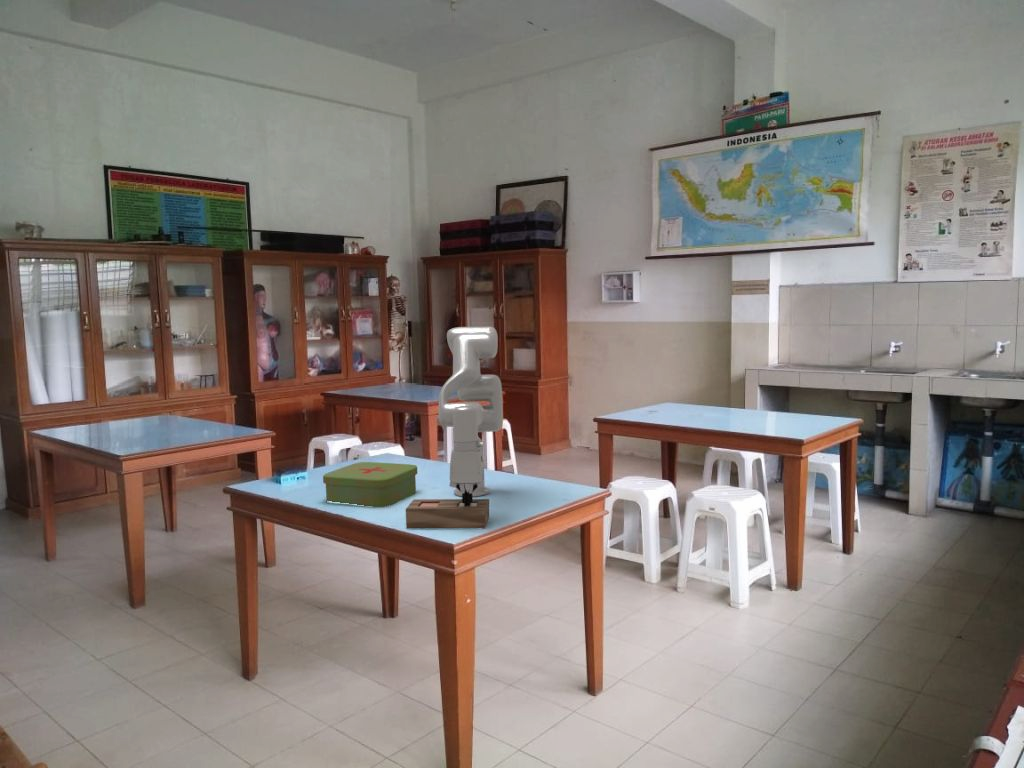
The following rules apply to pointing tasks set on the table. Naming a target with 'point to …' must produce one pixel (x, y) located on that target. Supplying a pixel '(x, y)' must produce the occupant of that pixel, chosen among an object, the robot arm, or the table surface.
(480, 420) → the robot arm
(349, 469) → the first aid kit
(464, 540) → the table surface
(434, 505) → the key red
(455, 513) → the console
